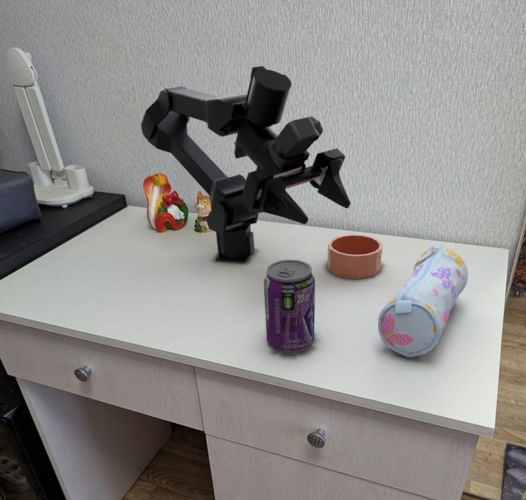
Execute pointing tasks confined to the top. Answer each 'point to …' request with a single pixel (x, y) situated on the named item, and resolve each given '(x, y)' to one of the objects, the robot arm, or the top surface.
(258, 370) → the top surface
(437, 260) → the pencil case
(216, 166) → the robot arm
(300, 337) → the beverage can
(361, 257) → the can holder
